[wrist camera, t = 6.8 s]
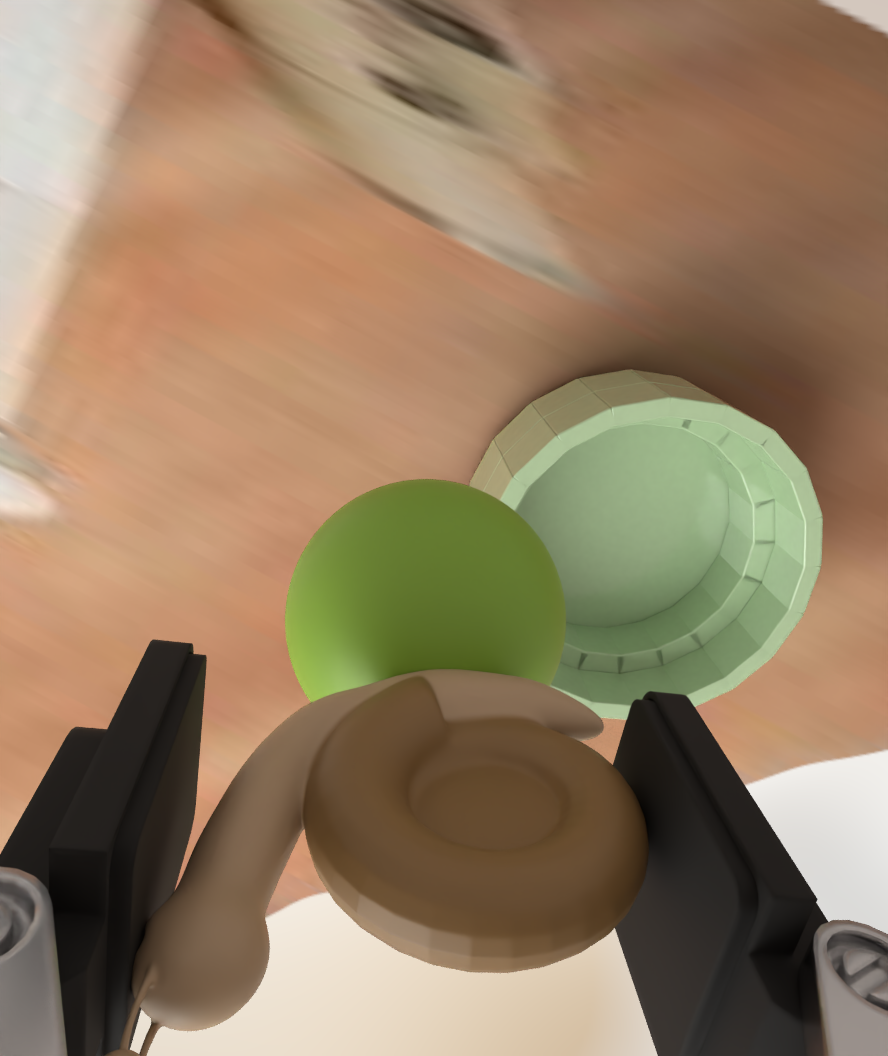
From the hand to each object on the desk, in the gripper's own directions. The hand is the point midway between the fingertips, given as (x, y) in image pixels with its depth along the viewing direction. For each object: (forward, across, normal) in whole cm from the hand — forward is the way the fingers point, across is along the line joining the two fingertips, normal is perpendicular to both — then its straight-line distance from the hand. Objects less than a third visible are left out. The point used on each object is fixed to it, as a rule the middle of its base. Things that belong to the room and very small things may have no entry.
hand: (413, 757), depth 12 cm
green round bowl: (+26, -12, +5) cm, 29 cm away
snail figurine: (+7, 0, 0) cm, 7 cm away
